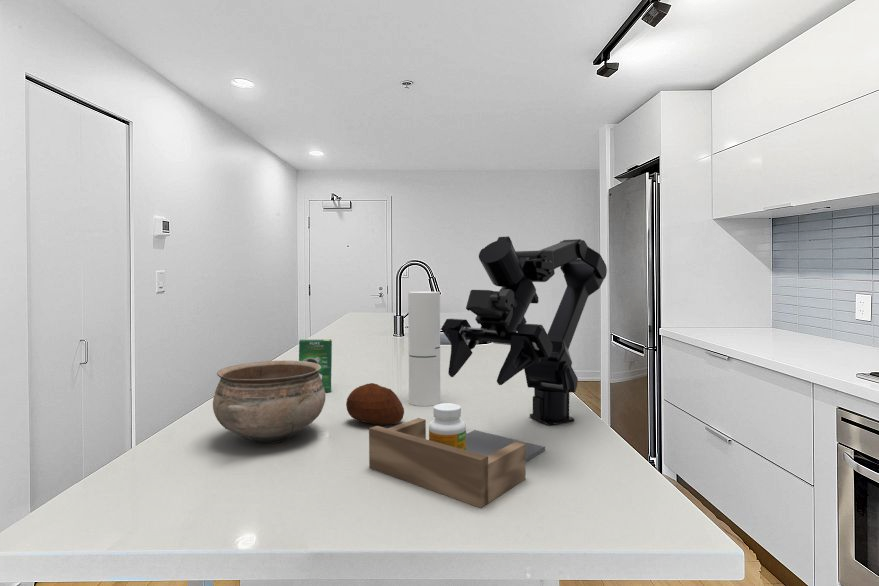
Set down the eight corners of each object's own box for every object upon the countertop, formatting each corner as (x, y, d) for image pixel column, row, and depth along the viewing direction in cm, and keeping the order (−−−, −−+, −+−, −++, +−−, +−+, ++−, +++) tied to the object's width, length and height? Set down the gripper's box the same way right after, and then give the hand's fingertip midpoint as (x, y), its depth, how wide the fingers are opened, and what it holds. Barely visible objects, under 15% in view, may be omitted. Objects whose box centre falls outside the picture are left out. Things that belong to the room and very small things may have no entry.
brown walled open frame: (418, 447, 82) (418, 412, 82) (525, 478, 69) (525, 437, 69) (369, 467, 74) (368, 428, 73) (481, 508, 61) (480, 460, 61)
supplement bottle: (462, 481, 69) (462, 412, 68) (425, 478, 70) (425, 410, 69) (468, 466, 74) (468, 402, 74) (433, 463, 75) (433, 400, 75)
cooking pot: (256, 415, 101) (255, 356, 101) (345, 418, 99) (344, 358, 98) (176, 460, 77) (175, 383, 76) (291, 466, 74) (290, 386, 74)
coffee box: (332, 389, 124) (331, 338, 123) (332, 392, 121) (331, 339, 120) (299, 391, 122) (298, 339, 121) (298, 394, 119) (297, 340, 119)
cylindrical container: (446, 400, 113) (445, 291, 112) (429, 407, 107) (428, 292, 106) (420, 396, 116) (420, 291, 116) (402, 403, 110) (401, 292, 110)
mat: (474, 433, 89) (474, 429, 89) (544, 450, 81) (544, 446, 81) (434, 450, 81) (434, 447, 80) (508, 472, 72) (508, 468, 72)
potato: (400, 430, 91) (400, 388, 91) (339, 429, 92) (339, 387, 92) (406, 418, 99) (406, 379, 98) (350, 417, 100) (350, 378, 99)
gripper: (447, 272, 86) (404, 341, 78) (544, 271, 74) (505, 353, 66) (473, 314, 92) (436, 382, 84) (566, 320, 81) (533, 400, 72)
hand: (473, 379), depth 76 cm, fingers open, 9 cm apart
